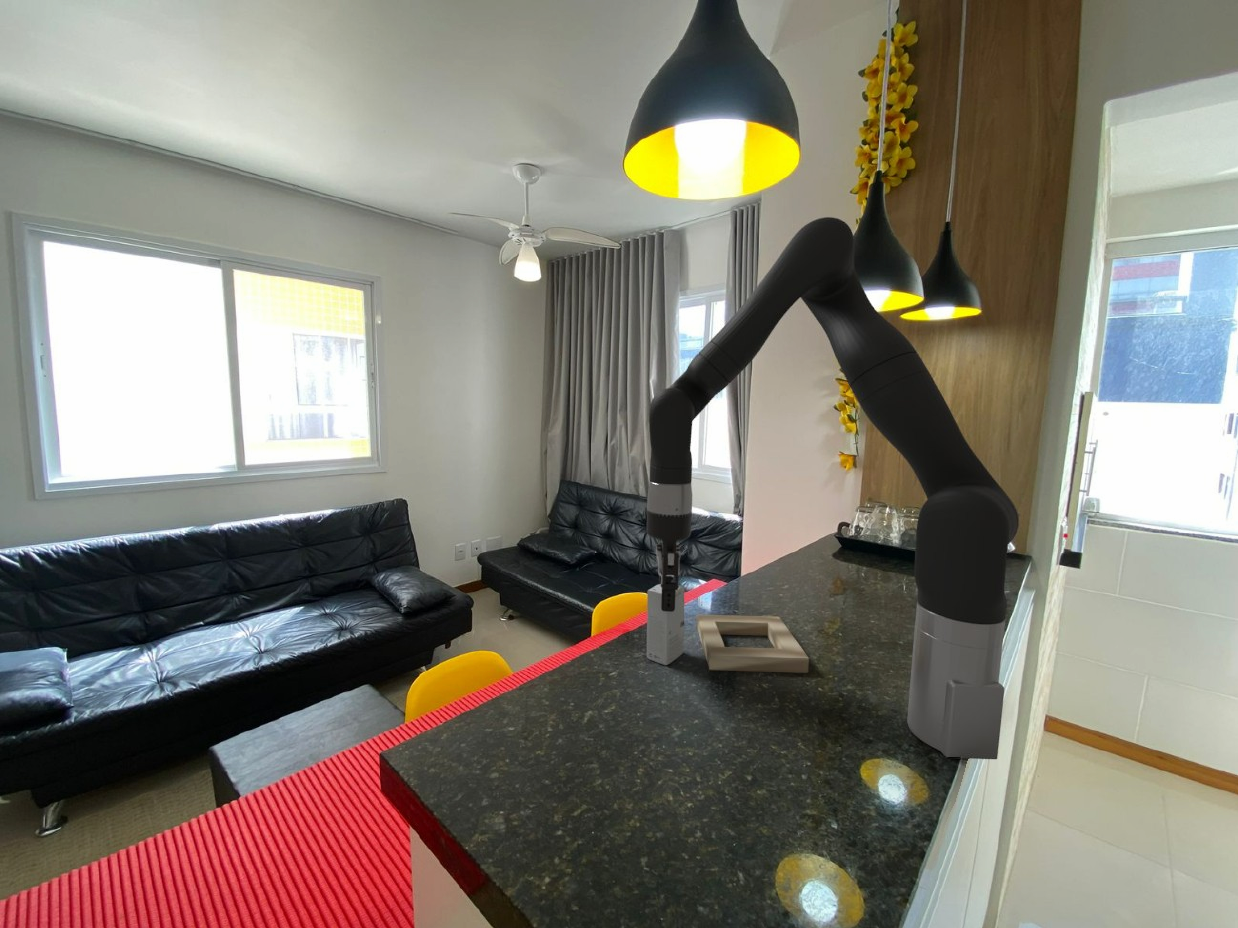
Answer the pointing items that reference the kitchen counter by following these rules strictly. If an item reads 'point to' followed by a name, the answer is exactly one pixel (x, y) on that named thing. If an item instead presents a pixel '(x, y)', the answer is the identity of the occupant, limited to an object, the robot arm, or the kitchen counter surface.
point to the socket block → (750, 659)
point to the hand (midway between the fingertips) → (666, 600)
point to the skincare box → (664, 627)
